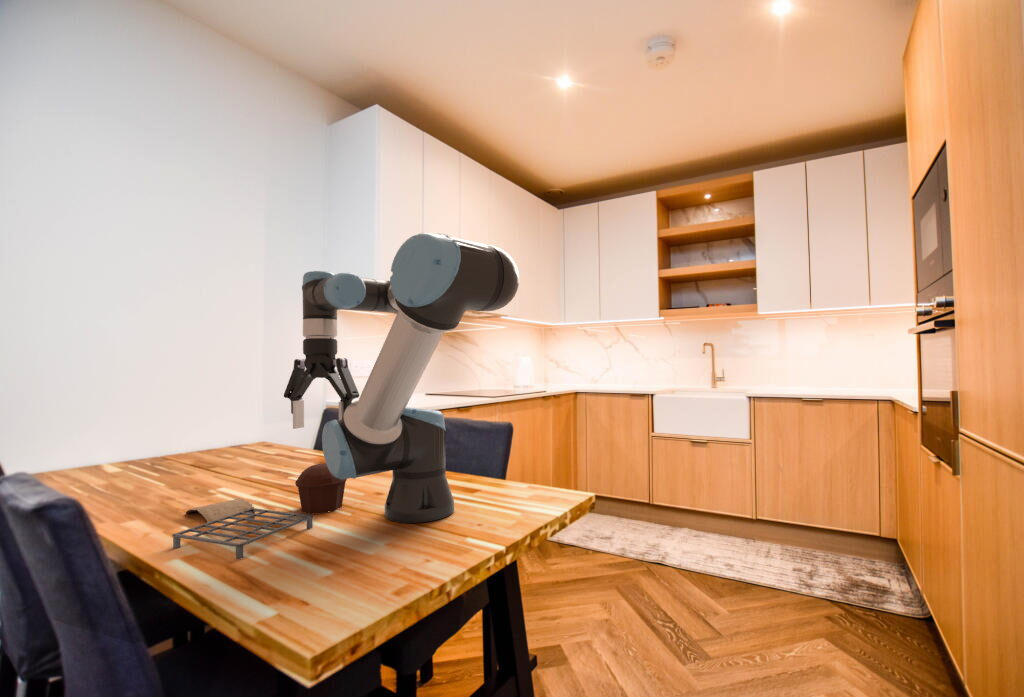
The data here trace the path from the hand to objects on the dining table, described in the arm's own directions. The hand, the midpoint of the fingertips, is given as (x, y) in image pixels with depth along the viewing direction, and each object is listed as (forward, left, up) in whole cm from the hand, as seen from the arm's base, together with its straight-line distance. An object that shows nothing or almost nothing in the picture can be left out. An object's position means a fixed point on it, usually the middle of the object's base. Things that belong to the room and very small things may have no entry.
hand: (320, 429), depth 113 cm
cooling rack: (0, +20, -18) cm, 27 cm away
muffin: (0, 0, -18) cm, 19 cm away
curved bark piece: (+20, +10, -19) cm, 29 cm away
